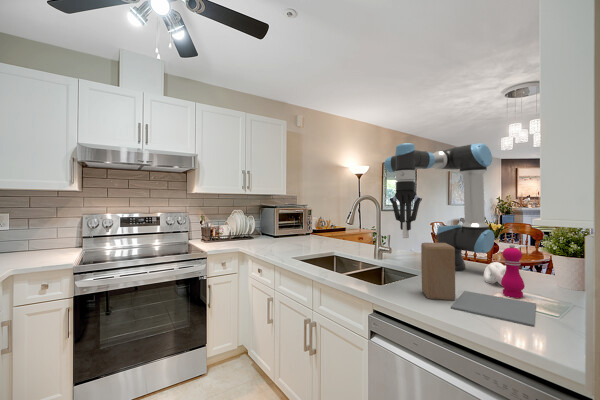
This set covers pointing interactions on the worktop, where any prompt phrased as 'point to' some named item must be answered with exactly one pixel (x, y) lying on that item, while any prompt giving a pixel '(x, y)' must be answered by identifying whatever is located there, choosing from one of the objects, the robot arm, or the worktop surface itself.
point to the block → (438, 270)
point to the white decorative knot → (494, 272)
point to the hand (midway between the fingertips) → (405, 237)
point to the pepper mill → (512, 273)
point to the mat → (496, 307)
